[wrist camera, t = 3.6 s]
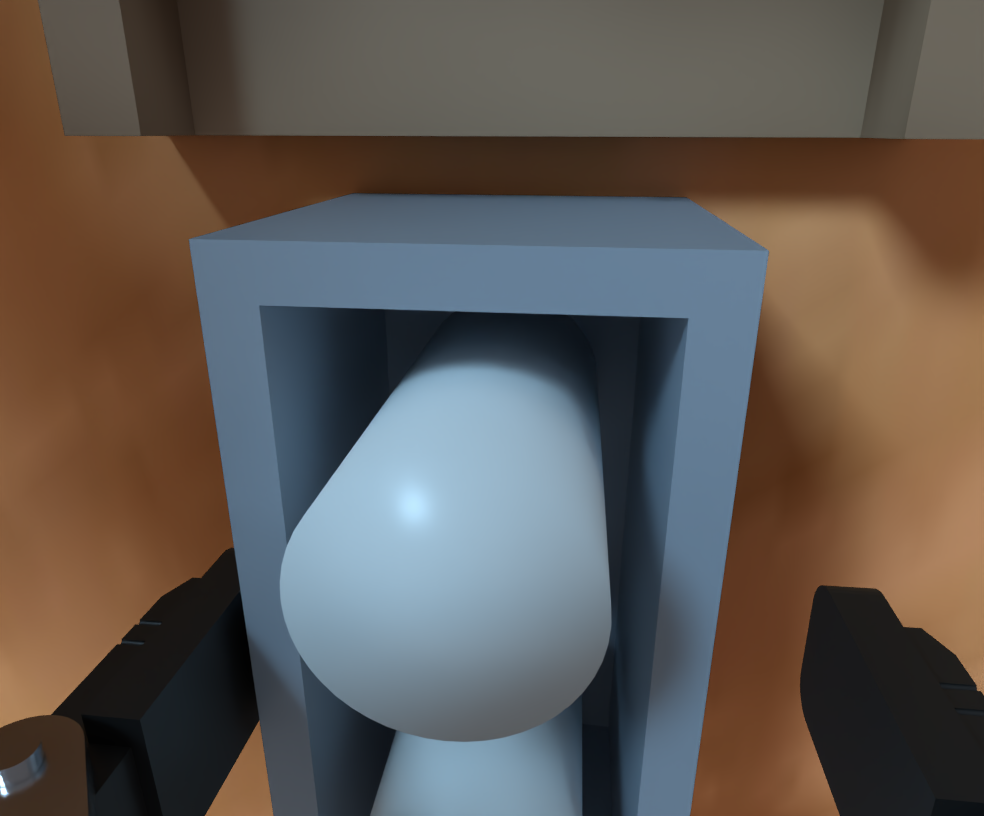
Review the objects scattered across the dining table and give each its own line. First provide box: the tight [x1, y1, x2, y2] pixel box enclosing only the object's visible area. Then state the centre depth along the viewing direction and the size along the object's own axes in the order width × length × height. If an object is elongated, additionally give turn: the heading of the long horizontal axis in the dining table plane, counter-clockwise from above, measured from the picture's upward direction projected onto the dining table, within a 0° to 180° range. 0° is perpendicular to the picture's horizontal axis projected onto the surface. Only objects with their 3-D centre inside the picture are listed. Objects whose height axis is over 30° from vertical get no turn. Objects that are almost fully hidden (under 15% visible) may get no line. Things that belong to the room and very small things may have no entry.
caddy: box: [189, 193, 769, 816], centre depth 11 cm, size 12×6×8 cm, turn 0°
